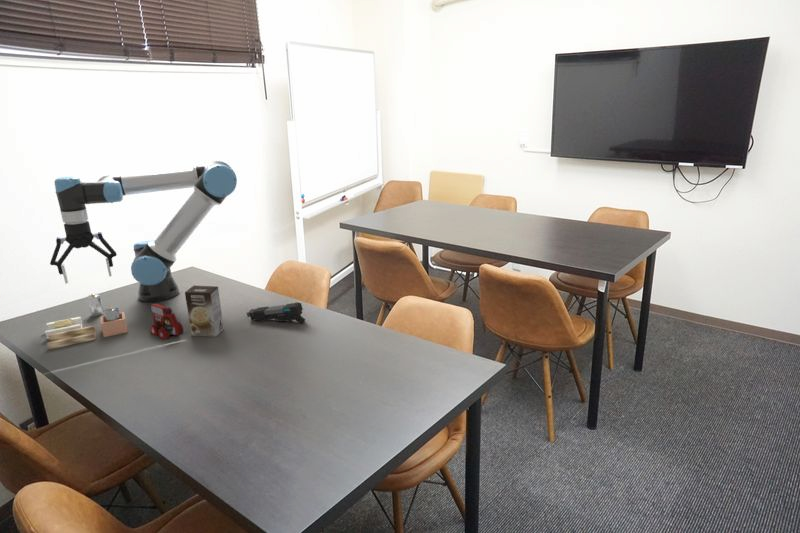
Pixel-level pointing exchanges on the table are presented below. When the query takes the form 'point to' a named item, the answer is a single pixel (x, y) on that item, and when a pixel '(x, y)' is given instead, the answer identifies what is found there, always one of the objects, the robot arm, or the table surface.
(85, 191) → the robot arm
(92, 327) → the trough
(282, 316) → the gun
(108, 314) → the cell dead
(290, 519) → the table surface
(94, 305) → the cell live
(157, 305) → the toy fire truck
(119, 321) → the square hollow tube
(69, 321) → the tan flat square block
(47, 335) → the cradle
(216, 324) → the coffee box
